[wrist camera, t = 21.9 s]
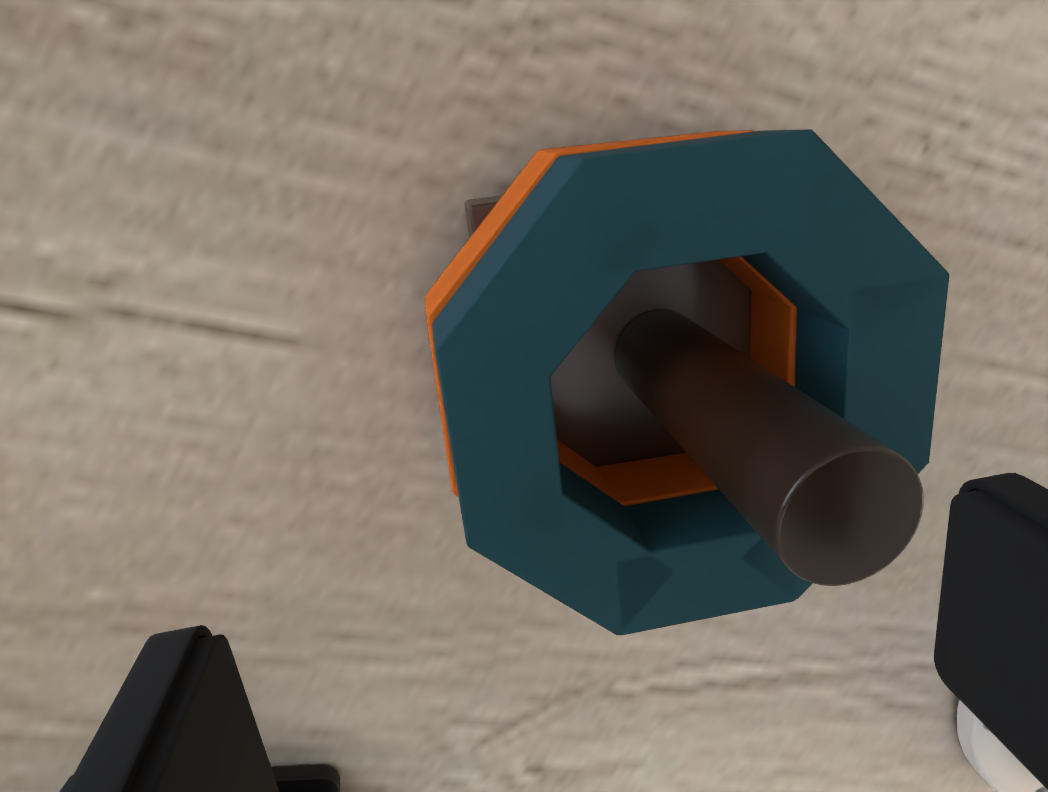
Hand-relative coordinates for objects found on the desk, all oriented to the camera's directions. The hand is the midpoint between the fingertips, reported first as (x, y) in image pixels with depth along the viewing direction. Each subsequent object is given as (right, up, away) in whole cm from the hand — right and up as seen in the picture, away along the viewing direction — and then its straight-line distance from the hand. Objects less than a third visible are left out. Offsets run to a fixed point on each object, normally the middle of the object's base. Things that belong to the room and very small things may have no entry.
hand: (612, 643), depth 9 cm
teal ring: (+2, +4, +8) cm, 9 cm away
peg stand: (+2, +5, +11) cm, 13 cm away
